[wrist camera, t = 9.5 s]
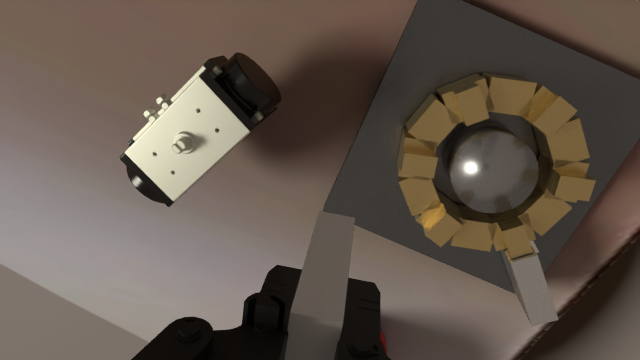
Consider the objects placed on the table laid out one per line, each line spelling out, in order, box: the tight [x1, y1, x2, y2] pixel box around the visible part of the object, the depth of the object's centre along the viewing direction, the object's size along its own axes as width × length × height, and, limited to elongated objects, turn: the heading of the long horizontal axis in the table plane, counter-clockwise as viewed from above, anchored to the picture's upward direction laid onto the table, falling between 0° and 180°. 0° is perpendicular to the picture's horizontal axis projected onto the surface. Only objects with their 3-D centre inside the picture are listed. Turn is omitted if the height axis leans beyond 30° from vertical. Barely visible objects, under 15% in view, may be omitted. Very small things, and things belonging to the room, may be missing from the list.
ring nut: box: [397, 73, 596, 326], centre depth 35 cm, size 20×13×5 cm
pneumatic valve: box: [119, 53, 281, 207], centre depth 34 cm, size 6×12×12 cm, turn 132°
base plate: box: [323, 0, 640, 294], centre depth 36 cm, size 20×20×6 cm
